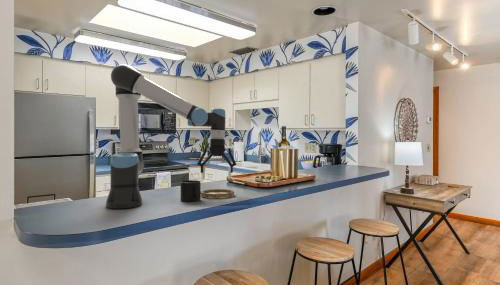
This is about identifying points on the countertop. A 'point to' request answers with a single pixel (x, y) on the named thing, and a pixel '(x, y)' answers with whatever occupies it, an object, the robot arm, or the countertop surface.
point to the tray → (217, 193)
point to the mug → (190, 191)
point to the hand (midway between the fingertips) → (216, 179)
